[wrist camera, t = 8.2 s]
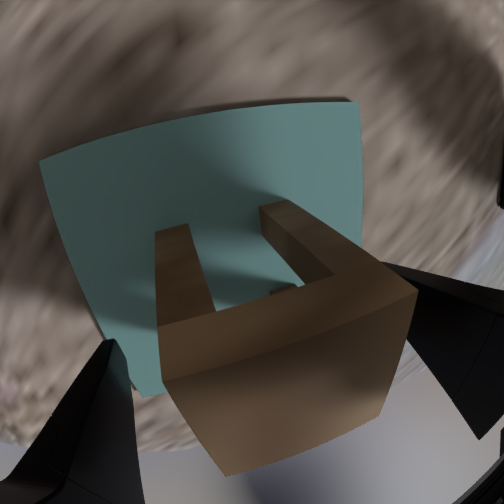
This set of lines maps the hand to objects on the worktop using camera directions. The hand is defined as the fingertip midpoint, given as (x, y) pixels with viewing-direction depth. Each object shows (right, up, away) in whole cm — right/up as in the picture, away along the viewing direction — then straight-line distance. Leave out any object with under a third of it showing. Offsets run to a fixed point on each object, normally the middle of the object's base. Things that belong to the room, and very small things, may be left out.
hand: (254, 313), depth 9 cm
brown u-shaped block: (-1, +1, +2) cm, 3 cm away
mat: (-1, +1, +3) cm, 3 cm away
